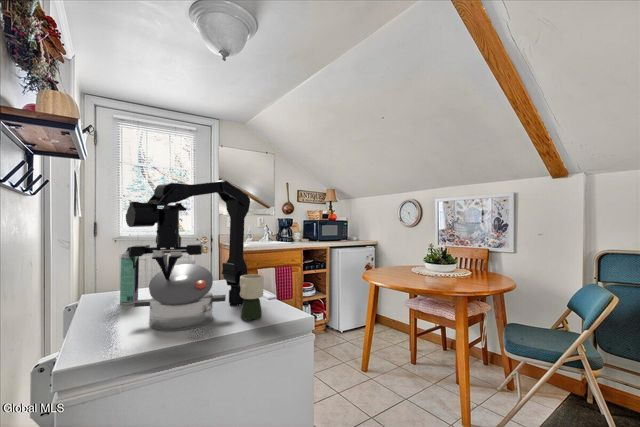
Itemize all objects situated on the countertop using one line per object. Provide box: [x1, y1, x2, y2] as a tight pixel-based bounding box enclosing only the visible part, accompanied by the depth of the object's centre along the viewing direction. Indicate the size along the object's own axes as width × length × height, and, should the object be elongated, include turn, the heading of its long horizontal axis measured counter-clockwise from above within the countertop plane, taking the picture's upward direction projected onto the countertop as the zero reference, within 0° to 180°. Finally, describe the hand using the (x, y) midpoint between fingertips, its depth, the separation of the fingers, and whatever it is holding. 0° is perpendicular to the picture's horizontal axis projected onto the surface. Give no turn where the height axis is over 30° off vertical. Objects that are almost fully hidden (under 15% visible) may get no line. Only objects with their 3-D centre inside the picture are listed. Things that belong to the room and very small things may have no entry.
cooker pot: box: [133, 291, 227, 332], centre depth 90 cm, size 25×17×7 cm
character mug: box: [240, 273, 265, 321], centre depth 93 cm, size 11×7×13 cm, turn 163°
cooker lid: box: [148, 260, 214, 305], centre depth 89 cm, size 17×19×3 cm
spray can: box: [119, 246, 140, 306], centre depth 108 cm, size 6×6×20 cm
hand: (167, 279), depth 88 cm, fingers closed
